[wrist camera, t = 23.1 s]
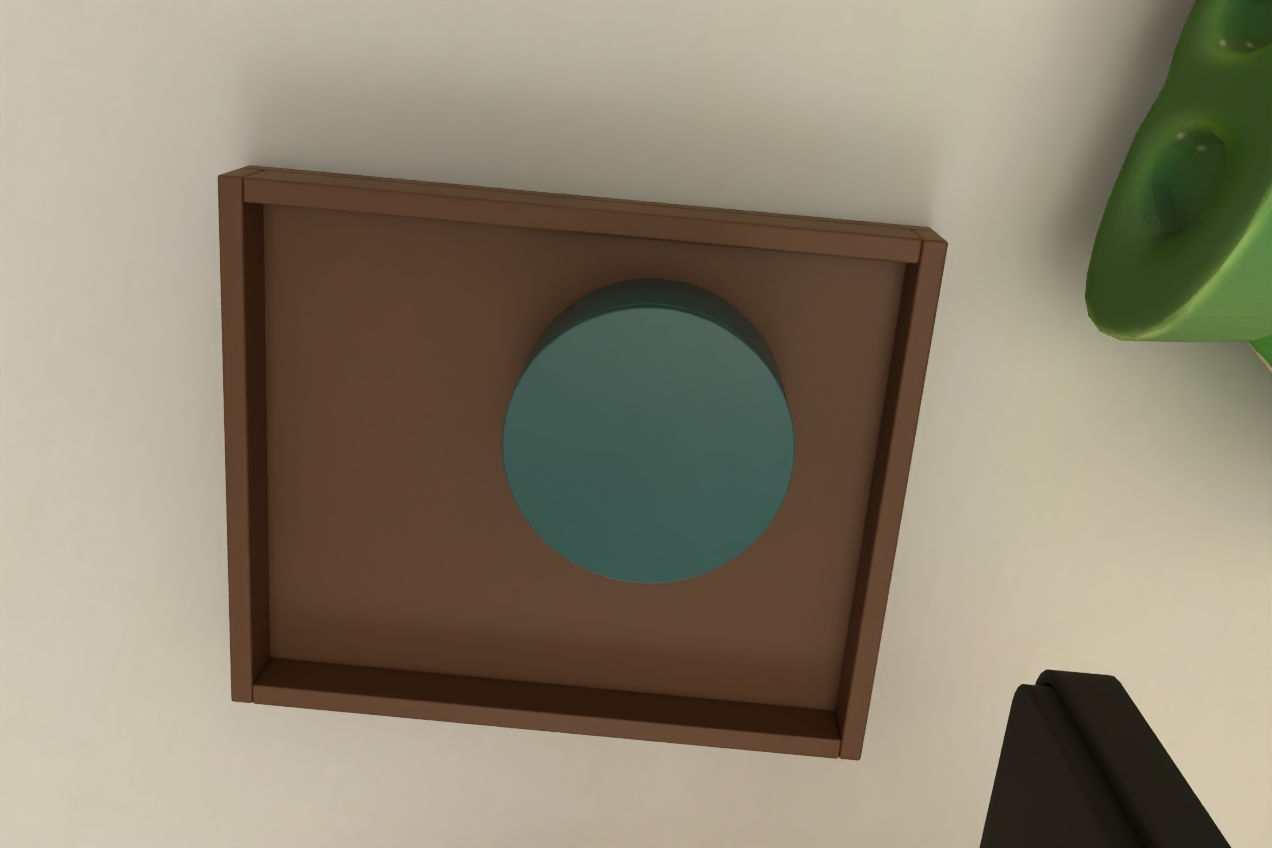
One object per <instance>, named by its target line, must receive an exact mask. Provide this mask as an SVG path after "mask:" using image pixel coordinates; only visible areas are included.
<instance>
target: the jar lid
mask: <svg viewBox="0 0 1272 848" xmlns="http://www.w3.org/2000/svg"><path fill="white" fill-rule="evenodd" d="M502 452H503V464H504V468H505V473H506V477H507V481H508V484H509V487H510V490H511V492H512V495H513V498H514V500H515V502H516V503H517V505H518V507H519V509H520V511H521V513H522V514H523V516H524V517H525V519H526V520H527V522H528V523H529V524H530V526H531V527H532V529H533V530H534V531H535V532H536V533H537V534H538V535H539V536H540V537H541V538H542V540H543V541H544V542H546V543H547V544H548V545H549V546H550V547H551V548H553V549H554V550H555V551H556V552H557V553H559V554H560V555H562V556H563V557H565V558H566V559H568V560H569V561H571V562H572V563H574V564H576V565H578V566H580V567H582V568H584V569H586V570H588V571H590V572H593V573H596V574H598V575H601V576H604V577H607V578H611V579H616V580H620V581H625V582H634V583H667V582H674V581H681V580H685V579H688V578H692V577H696V576H699V575H702V574H704V573H707V572H709V571H712V570H714V569H716V568H718V567H720V566H722V565H724V564H725V563H727V562H729V561H731V560H732V559H734V558H735V557H736V556H738V555H739V554H741V553H742V552H743V551H745V550H746V549H747V548H748V547H749V546H750V545H751V544H752V543H754V542H755V541H756V540H757V539H758V538H759V537H760V536H761V534H762V533H763V532H764V531H765V529H766V528H767V527H768V526H769V525H770V523H771V522H772V520H773V519H774V517H775V515H776V514H777V512H778V510H779V509H780V507H781V505H782V503H783V500H784V498H785V496H786V494H787V491H788V488H789V484H790V481H791V477H792V474H793V467H794V460H795V433H794V426H793V419H792V415H791V412H790V408H789V405H788V401H787V398H786V394H785V391H784V387H783V384H782V380H781V377H780V373H779V370H778V367H777V364H776V361H775V359H774V357H773V355H772V352H771V350H770V348H769V346H768V345H767V343H766V342H765V340H764V338H763V337H762V335H761V334H760V332H759V331H758V330H757V329H756V328H755V326H754V325H753V324H752V323H751V321H750V320H748V319H747V318H746V317H745V316H744V315H743V314H742V313H741V312H740V311H739V310H738V309H736V308H735V307H734V306H732V305H731V304H729V303H728V302H727V301H725V300H724V299H722V298H720V297H718V296H717V295H715V294H713V293H711V292H709V291H707V290H704V289H702V288H699V287H696V286H694V285H691V284H687V283H682V282H678V281H674V280H664V279H636V280H630V281H623V282H619V283H615V284H612V285H608V286H605V287H602V288H600V289H598V290H595V291H593V292H591V293H589V294H587V295H585V296H583V297H582V298H580V299H579V300H577V301H575V302H574V303H572V304H571V305H570V306H568V307H567V308H566V309H565V310H564V311H562V312H561V313H560V314H559V315H558V316H557V317H556V318H555V319H554V320H553V321H552V322H551V323H550V324H549V325H548V326H547V328H546V329H545V331H544V332H543V333H542V335H541V336H540V338H539V339H538V340H537V342H536V344H535V346H534V348H533V350H532V352H531V354H530V356H529V358H528V360H527V362H526V364H525V366H524V369H523V371H522V373H521V375H520V377H519V379H518V382H517V384H516V386H515V388H514V390H513V392H512V395H511V398H510V401H509V404H508V407H507V410H506V415H505V420H504V425H503V436H502Z"/></svg>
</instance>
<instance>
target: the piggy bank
mask: <svg viewBox="0 0 1272 848" xmlns="http://www.w3.org/2000/svg"><path fill="white" fill-rule="evenodd" d="M1085 299H1086V305H1087V310H1088V316H1089V317H1090V318H1091V320H1092V321H1093V323H1094V324H1095V325H1096V327H1097V328H1098V329H1099V331H1100V332H1103V333H1105V334H1107V335H1109V336H1112V337H1114V338H1116V339H1119V340H1125V341H1166V342H1236V341H1247V342H1248V343H1249V345H1250V346H1251V347H1252V349H1253V350H1254V351H1255V353H1256V354H1257V355H1258V356H1259V358H1260V359H1261V360H1262V362H1263V363H1264V364H1265V365H1266V367H1267V368H1268V369H1269V370H1270V372H1271V373H1272V0H1196V2H1195V4H1194V6H1193V8H1192V11H1191V13H1190V15H1189V18H1188V20H1187V22H1186V24H1185V27H1184V29H1183V32H1182V34H1181V37H1180V39H1179V42H1178V45H1177V47H1176V50H1175V54H1174V57H1173V61H1172V64H1171V68H1170V71H1169V74H1168V77H1167V80H1166V83H1165V85H1164V87H1163V89H1162V90H1161V92H1160V94H1159V96H1158V97H1157V99H1156V101H1155V102H1154V104H1153V106H1152V107H1151V109H1150V111H1149V113H1148V114H1147V116H1146V118H1145V119H1144V121H1143V123H1142V124H1141V126H1140V128H1139V130H1138V131H1137V133H1136V135H1135V138H1134V140H1133V143H1132V145H1131V147H1130V150H1129V152H1128V155H1127V157H1126V159H1125V162H1124V164H1123V166H1122V169H1121V171H1120V174H1119V176H1118V179H1117V181H1116V183H1115V186H1114V188H1113V191H1112V193H1111V196H1110V198H1109V200H1108V203H1107V206H1106V209H1105V212H1104V215H1103V218H1102V221H1101V224H1100V227H1099V230H1098V233H1097V235H1096V239H1095V243H1094V247H1093V251H1092V256H1091V260H1090V264H1089V268H1088V273H1087V281H1086V292H1085Z"/></svg>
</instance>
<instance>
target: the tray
mask: <svg viewBox="0 0 1272 848" xmlns="http://www.w3.org/2000/svg"><path fill="white" fill-rule="evenodd" d="M218 200H219V239H220V277H221V315H222V353H223V392H224V430H225V468H226V506H227V545H228V583H229V621H230V660H231V698H232V701H235V702H246V703H252V702H253V703H255V704H264V705H275V706H285V707H296V708H307V709H317V710H328V711H338V712H349V713H360V714H370V715H381V716H391V717H402V718H413V719H423V720H434V721H444V722H455V723H465V724H476V725H487V726H497V727H508V728H518V729H529V730H540V731H550V732H561V733H571V734H582V735H593V736H603V737H614V738H624V739H635V740H646V741H656V742H667V743H677V744H688V745H699V746H709V747H720V748H730V749H741V750H752V751H762V752H773V753H783V754H794V755H804V756H815V757H826V758H836V759H837V758H838V757H839V758H841V759H849V760H860V758H861V753H862V747H863V741H864V735H865V729H866V723H867V718H868V712H869V706H870V700H871V694H872V688H873V682H874V676H875V670H876V665H877V659H878V653H879V647H880V641H881V635H882V629H883V623H884V617H885V612H886V606H887V600H888V594H889V588H890V582H891V576H892V570H893V564H894V558H895V553H896V547H897V541H898V535H899V529H900V523H901V517H902V511H903V505H904V500H905V494H906V488H907V482H908V476H909V470H910V464H911V458H912V452H913V447H914V441H915V435H916V429H917V423H918V417H919V411H920V405H921V399H922V393H923V388H924V382H925V376H926V370H927V364H928V358H929V352H930V346H931V340H932V335H933V329H934V323H935V317H936V311H937V305H938V299H939V293H940V287H941V281H942V276H943V270H944V264H945V258H946V252H947V246H948V243H947V241H946V240H944V239H943V238H942V237H941V236H939V235H938V234H937V233H936V232H935V231H933V230H932V229H931V228H929V227H918V226H907V225H896V224H885V223H874V222H863V221H852V220H842V219H831V218H820V217H809V216H798V215H787V214H776V213H765V212H754V211H743V210H732V209H721V208H710V207H699V206H688V205H677V204H666V203H655V202H644V201H633V200H622V199H611V198H600V197H589V196H578V195H567V194H556V193H546V192H535V191H524V190H513V189H502V188H491V187H480V186H469V185H458V184H447V183H436V182H425V181H414V180H403V179H392V178H381V177H370V176H359V175H348V174H337V173H326V172H315V171H304V170H293V169H282V168H271V167H260V166H250V165H249V166H246V167H243V168H240V169H237V170H234V171H231V172H228V173H224V174H221V175H219V176H218ZM636 279H664V280H674V281H678V282H682V283H687V284H691V285H694V286H696V287H699V288H702V289H704V290H707V291H709V292H711V293H713V294H715V295H717V296H718V297H720V298H722V299H724V300H725V301H727V302H728V303H729V304H731V305H732V306H734V307H735V308H736V309H738V310H739V311H740V312H741V313H742V314H743V315H744V316H745V317H746V318H747V319H748V320H750V321H751V323H752V324H753V325H754V326H755V328H756V329H757V330H758V331H759V332H760V334H761V335H762V337H763V338H764V340H765V342H766V343H767V345H768V346H769V348H770V350H771V352H772V355H773V357H774V359H775V361H776V364H777V367H778V370H779V373H780V377H781V380H782V384H783V387H784V391H785V394H786V398H787V401H788V405H789V408H790V412H791V415H792V419H793V426H794V433H795V460H794V467H793V474H792V477H791V481H790V484H789V488H788V491H787V494H786V496H785V498H784V500H783V503H782V505H781V507H780V509H779V510H778V512H777V514H776V515H775V517H774V519H773V520H772V522H771V523H770V525H769V526H768V527H767V528H766V529H765V531H764V532H763V533H762V534H761V536H760V537H759V538H758V539H757V540H756V541H755V542H754V543H752V544H751V545H750V546H749V547H748V548H747V549H746V550H745V551H743V552H742V553H741V554H739V555H738V556H736V557H735V558H734V559H732V560H731V561H729V562H727V563H725V564H724V565H722V566H720V567H718V568H716V569H714V570H712V571H709V572H707V573H704V574H702V575H699V576H696V577H692V578H688V579H685V580H681V581H674V582H667V583H634V582H625V581H620V580H616V579H611V578H607V577H604V576H601V575H598V574H596V573H593V572H590V571H588V570H586V569H584V568H582V567H580V566H578V565H576V564H574V563H572V562H571V561H569V560H568V559H566V558H565V557H563V556H562V555H560V554H559V553H557V552H556V551H555V550H554V549H553V548H551V547H550V546H549V545H548V544H547V543H546V542H544V541H543V540H542V538H541V537H540V536H539V535H538V534H537V533H536V532H535V531H534V530H533V529H532V527H531V526H530V524H529V523H528V522H527V520H526V519H525V517H524V516H523V514H522V513H521V511H520V509H519V507H518V505H517V503H516V502H515V500H514V498H513V495H512V492H511V490H510V487H509V484H508V481H507V477H506V473H505V468H504V464H503V452H502V436H503V425H504V420H505V415H506V410H507V407H508V404H509V401H510V398H511V395H512V392H513V390H514V388H515V386H516V384H517V382H518V379H519V377H520V375H521V373H522V371H523V369H524V366H525V364H526V362H527V360H528V358H529V356H530V354H531V352H532V350H533V348H534V346H535V344H536V342H537V340H538V339H539V338H540V336H541V335H542V333H543V332H544V331H545V329H546V328H547V326H548V325H549V324H550V323H551V322H552V321H553V320H554V319H555V318H556V317H557V316H558V315H559V314H560V313H561V312H562V311H564V310H565V309H566V308H567V307H568V306H570V305H571V304H572V303H574V302H575V301H577V300H579V299H580V298H582V297H583V296H585V295H587V294H589V293H591V292H593V291H595V290H598V289H600V288H602V287H605V286H608V285H612V284H615V283H619V282H623V281H630V280H636Z"/></svg>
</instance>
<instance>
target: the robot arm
mask: <svg viewBox="0 0 1272 848" xmlns="http://www.w3.org/2000/svg"><path fill="white" fill-rule="evenodd" d="M980 848H1231V847H1230V845H1229V844H1228V842H1227V841H1226V839H1225V838H1224V836H1223V835H1222V833H1221V832H1220V830H1219V829H1218V827H1217V826H1216V824H1215V823H1214V821H1213V820H1212V818H1211V817H1210V815H1209V814H1208V812H1207V811H1206V809H1205V808H1204V806H1203V805H1202V803H1201V802H1200V801H1199V799H1198V798H1197V796H1196V795H1195V793H1194V792H1193V790H1192V789H1191V787H1190V786H1189V784H1188V783H1187V781H1186V780H1185V778H1184V777H1183V775H1182V774H1181V772H1180V771H1179V769H1178V768H1177V766H1176V765H1175V763H1174V762H1173V760H1172V759H1171V757H1170V756H1169V754H1168V753H1167V751H1166V750H1165V748H1164V747H1163V745H1162V744H1161V742H1160V741H1159V739H1158V738H1157V736H1156V735H1155V733H1154V732H1153V731H1152V729H1151V728H1150V726H1149V725H1148V723H1147V722H1146V720H1145V719H1144V717H1143V716H1142V714H1141V713H1140V711H1139V710H1138V708H1137V707H1136V705H1135V704H1134V702H1133V701H1132V699H1131V698H1130V696H1129V695H1128V693H1127V692H1126V690H1125V689H1124V687H1123V686H1122V684H1121V683H1120V682H1119V681H1118V680H1117V679H1116V678H1115V677H1114V676H1110V675H1101V674H1090V673H1079V672H1068V671H1057V670H1045V671H1044V672H1042V673H1041V674H1040V676H1039V678H1038V679H1037V681H1036V684H1035V685H1026V684H1022V685H1020V686H1019V687H1018V688H1017V690H1016V692H1015V694H1014V697H1013V701H1012V705H1011V709H1010V714H1009V718H1008V723H1007V727H1006V732H1005V736H1004V741H1003V745H1002V750H1001V754H1000V759H999V763H998V768H997V772H996V777H995V781H994V786H993V790H992V795H991V799H990V803H989V808H988V812H987V817H986V821H985V826H984V830H983V835H982V839H981V844H980Z"/></svg>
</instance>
